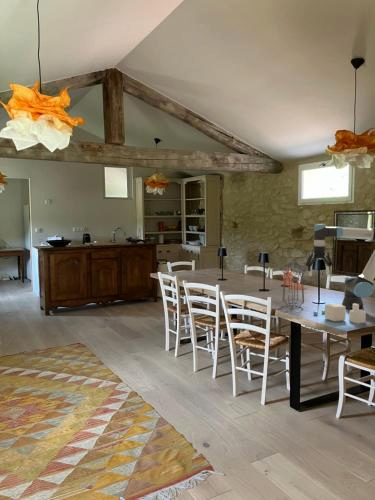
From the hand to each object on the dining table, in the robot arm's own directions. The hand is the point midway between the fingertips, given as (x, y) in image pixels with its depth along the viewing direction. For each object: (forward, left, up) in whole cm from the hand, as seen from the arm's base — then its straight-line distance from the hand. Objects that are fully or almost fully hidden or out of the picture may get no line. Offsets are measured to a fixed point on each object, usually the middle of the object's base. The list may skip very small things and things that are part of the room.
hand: (318, 275), depth 278 cm
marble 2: (-2, +6, -26) cm, 26 cm away
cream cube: (+1, +22, -26) cm, 34 cm away
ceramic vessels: (-30, -94, -27) cm, 102 cm away
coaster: (+1, +23, -27) cm, 35 cm away
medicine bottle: (-10, +30, -27) cm, 41 cm away
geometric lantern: (+10, -19, -27) cm, 34 cm away
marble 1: (+7, +7, -24) cm, 26 cm away
